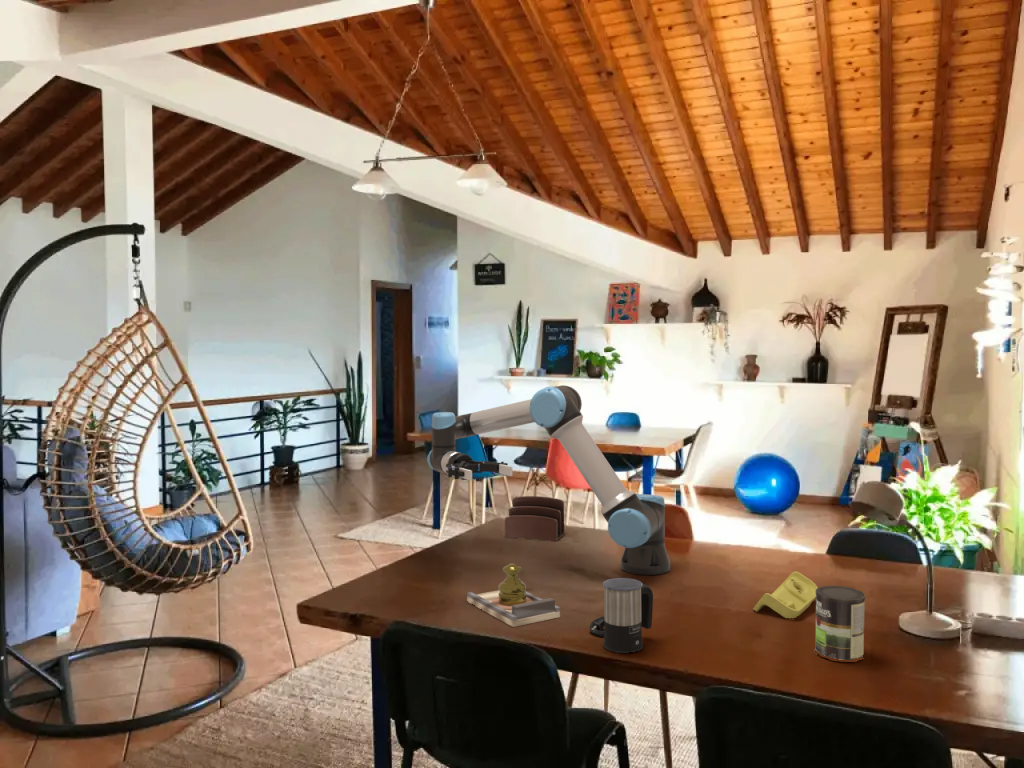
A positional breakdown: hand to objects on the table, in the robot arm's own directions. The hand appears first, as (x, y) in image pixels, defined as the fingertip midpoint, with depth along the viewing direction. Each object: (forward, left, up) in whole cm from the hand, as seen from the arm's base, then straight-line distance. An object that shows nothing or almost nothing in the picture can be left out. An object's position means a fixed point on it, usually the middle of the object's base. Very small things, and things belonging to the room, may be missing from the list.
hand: (491, 473), depth 241 cm
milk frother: (-49, +28, -32) cm, 66 cm away
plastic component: (-81, -15, -32) cm, 89 cm away
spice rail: (-17, +19, -32) cm, 41 cm away
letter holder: (+15, -56, -32) cm, 66 cm away
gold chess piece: (-17, +19, -30) cm, 40 cm away
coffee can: (-97, +13, -32) cm, 103 cm away
